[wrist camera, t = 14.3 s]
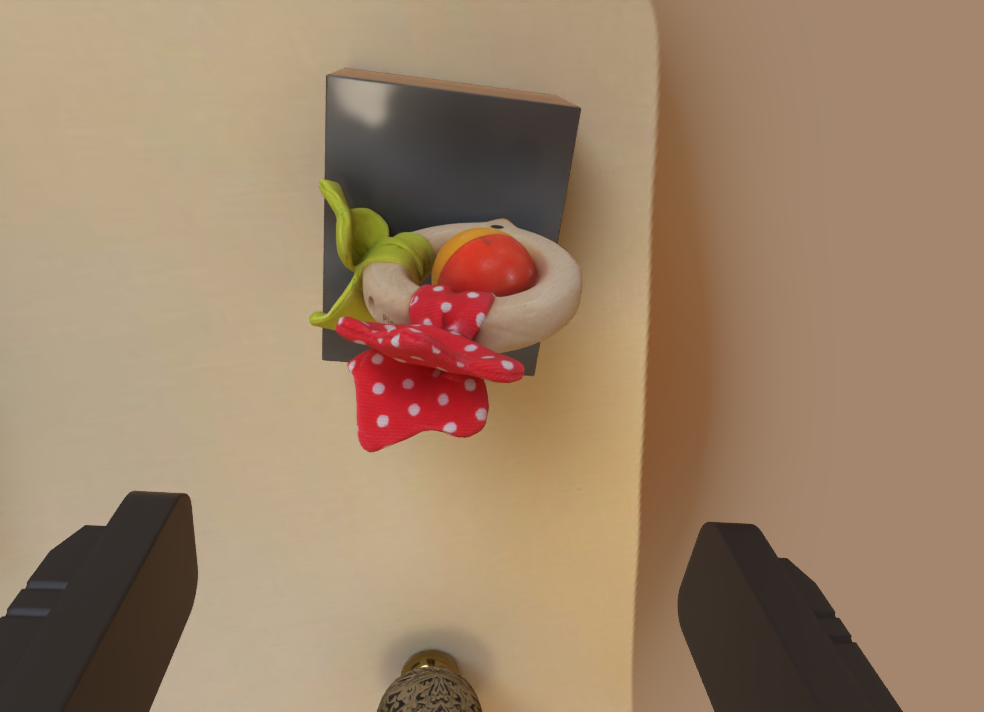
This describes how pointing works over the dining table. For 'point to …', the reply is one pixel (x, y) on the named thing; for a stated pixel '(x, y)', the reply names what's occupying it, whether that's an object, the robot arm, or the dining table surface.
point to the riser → (441, 165)
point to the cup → (430, 687)
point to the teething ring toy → (441, 316)
